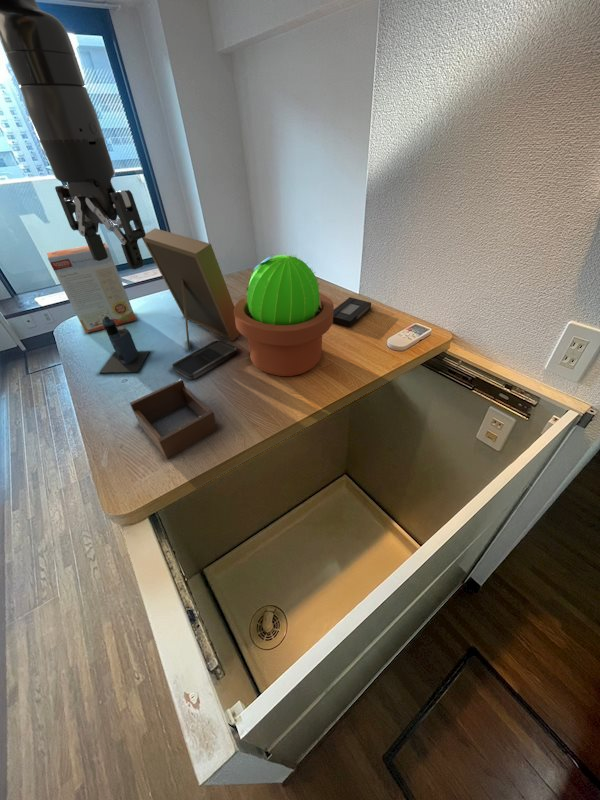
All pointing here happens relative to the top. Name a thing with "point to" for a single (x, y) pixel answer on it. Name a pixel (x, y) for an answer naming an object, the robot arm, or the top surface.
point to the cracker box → (92, 287)
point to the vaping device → (121, 341)
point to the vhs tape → (350, 311)
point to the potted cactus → (284, 316)
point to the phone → (204, 359)
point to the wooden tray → (166, 403)
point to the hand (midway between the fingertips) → (118, 263)
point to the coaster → (117, 367)
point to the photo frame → (194, 281)
